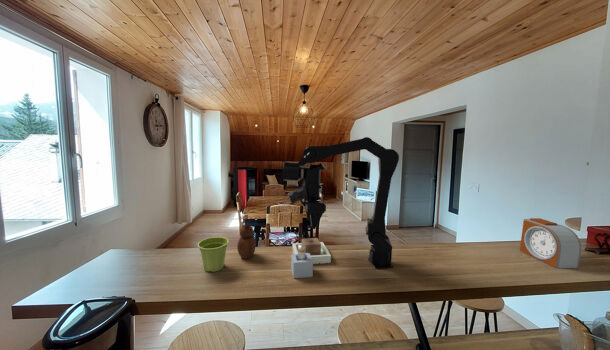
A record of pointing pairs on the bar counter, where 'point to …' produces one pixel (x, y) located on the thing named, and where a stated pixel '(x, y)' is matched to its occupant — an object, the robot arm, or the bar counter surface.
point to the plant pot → (213, 253)
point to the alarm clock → (550, 243)
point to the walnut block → (312, 246)
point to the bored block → (301, 266)
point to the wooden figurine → (246, 241)
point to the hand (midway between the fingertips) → (311, 224)
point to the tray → (317, 259)
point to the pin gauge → (301, 252)
